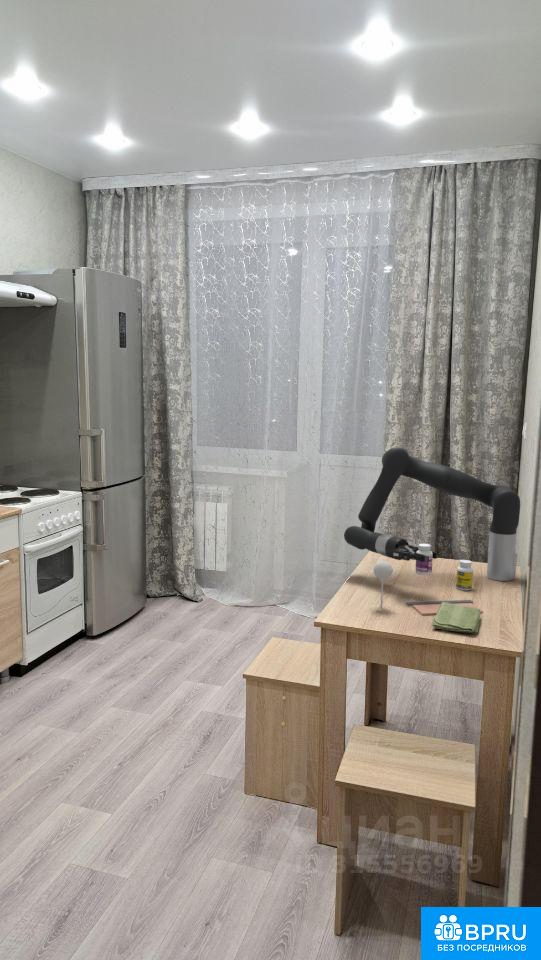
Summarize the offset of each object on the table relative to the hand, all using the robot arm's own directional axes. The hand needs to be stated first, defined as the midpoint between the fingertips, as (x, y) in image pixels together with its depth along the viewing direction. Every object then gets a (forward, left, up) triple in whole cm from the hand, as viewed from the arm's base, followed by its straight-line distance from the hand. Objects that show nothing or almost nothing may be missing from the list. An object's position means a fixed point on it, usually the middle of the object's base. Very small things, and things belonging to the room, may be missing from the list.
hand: (430, 557), depth 223 cm
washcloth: (0, +22, -15) cm, 26 cm away
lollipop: (+18, +5, -15) cm, 23 cm away
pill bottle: (+1, -2, -6) cm, 7 cm away
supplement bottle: (-17, -11, -15) cm, 26 cm away
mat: (-2, +8, -15) cm, 17 cm away
